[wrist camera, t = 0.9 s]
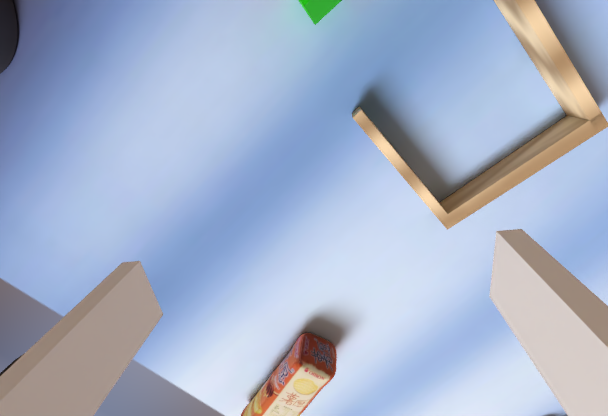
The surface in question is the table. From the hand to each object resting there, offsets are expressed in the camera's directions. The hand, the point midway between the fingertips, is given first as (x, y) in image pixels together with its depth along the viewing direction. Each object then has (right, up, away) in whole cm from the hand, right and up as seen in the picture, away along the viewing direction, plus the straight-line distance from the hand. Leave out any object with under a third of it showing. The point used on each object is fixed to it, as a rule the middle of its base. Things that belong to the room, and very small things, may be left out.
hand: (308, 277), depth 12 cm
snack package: (-3, -24, +38) cm, 45 cm away
